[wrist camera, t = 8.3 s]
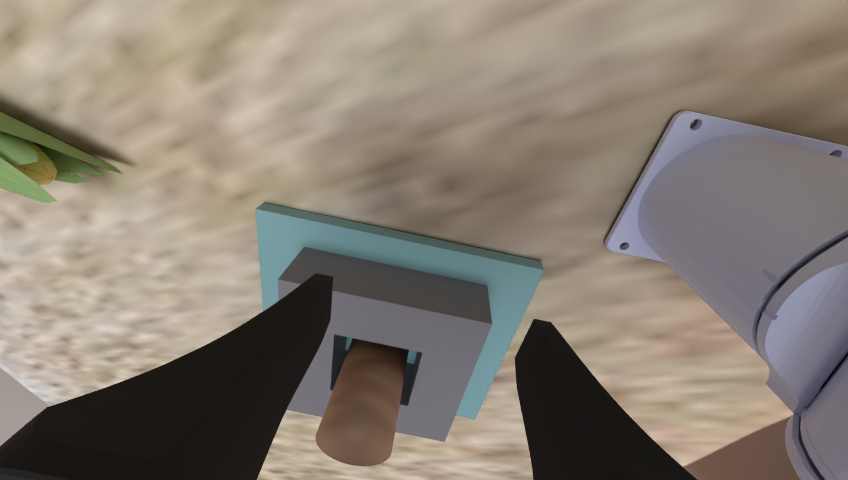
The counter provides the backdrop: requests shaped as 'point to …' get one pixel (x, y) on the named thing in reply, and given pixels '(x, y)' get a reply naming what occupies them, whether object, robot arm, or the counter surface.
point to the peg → (364, 405)
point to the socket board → (412, 254)
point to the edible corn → (39, 160)
